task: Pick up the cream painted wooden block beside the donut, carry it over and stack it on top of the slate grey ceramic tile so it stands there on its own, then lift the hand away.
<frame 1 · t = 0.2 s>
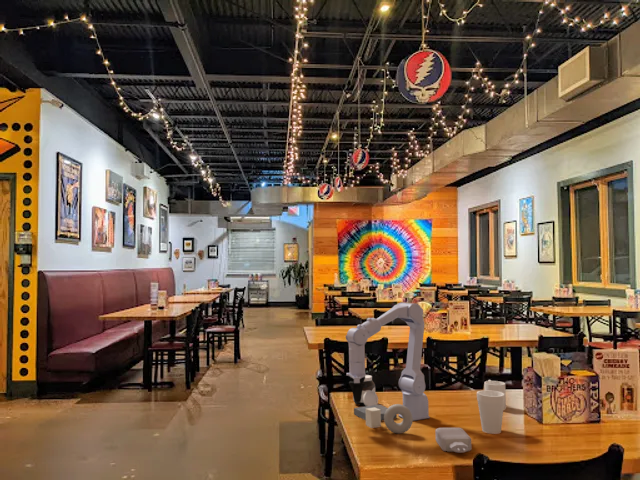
hand: (357, 398, 182), 10 cm above the table, tool pointing down, fingers open, 7 cm apart
tile: (375, 416, 195), on the table
donut: (398, 433, 174), on the table
cup: (493, 406, 209), on the table
spread jar: (366, 405, 212), on the table
block: (373, 425, 183), on the table
foam cup: (491, 431, 176), on the table
charger: (455, 450, 158), on the table
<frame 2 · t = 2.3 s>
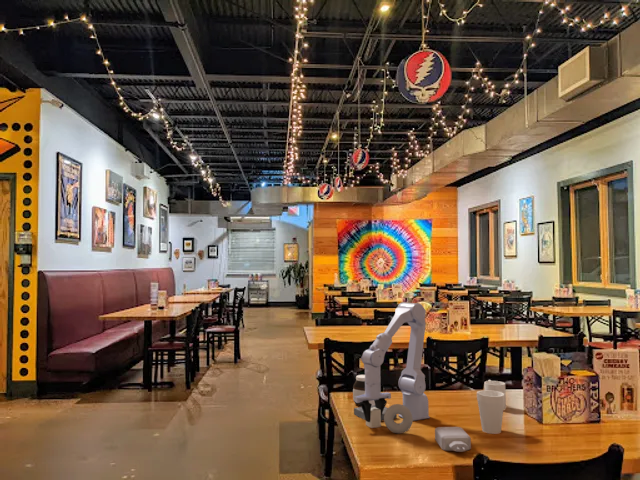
hand: (373, 420, 183), 2 cm above the table, tool pointing down, fingers closed on block, 4 cm apart
block: (373, 425, 183), on the table, touching gripper
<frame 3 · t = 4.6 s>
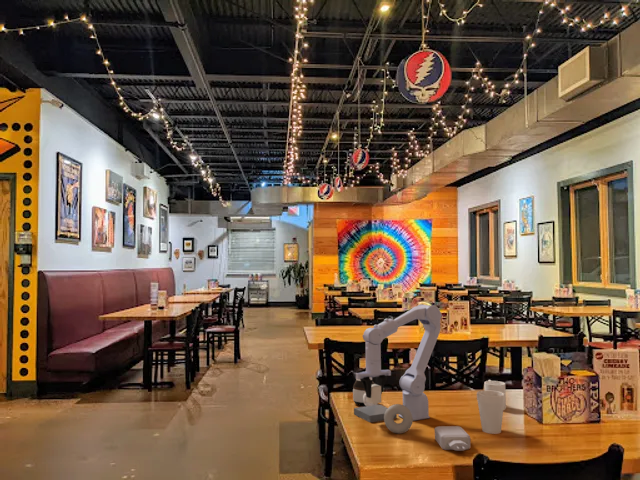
hand: (373, 396, 188), 9 cm above the table, tool pointing down, fingers closed on block, 4 cm apart
block: (374, 401, 188), point 7 cm above the table, touching gripper
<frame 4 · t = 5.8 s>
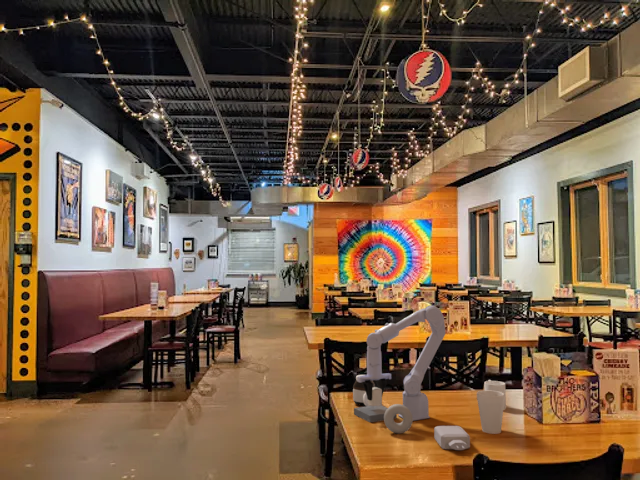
hand: (374, 399, 195), 7 cm above the table, tool pointing down, fingers closed on block, 4 cm apart
block: (374, 404, 195), point 5 cm above the table, touching gripper
when the fingers open (6 cm above the table, at t = 6.8 s): block drops 1 cm, resting on tile.
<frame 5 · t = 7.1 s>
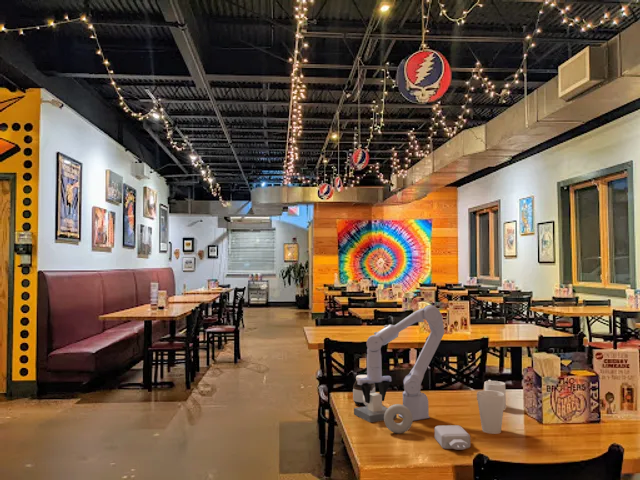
hand: (374, 401, 195), 6 cm above the table, tool pointing down, fingers open, 6 cm apart
block: (375, 409, 195), point 2 cm above the table, touching tile
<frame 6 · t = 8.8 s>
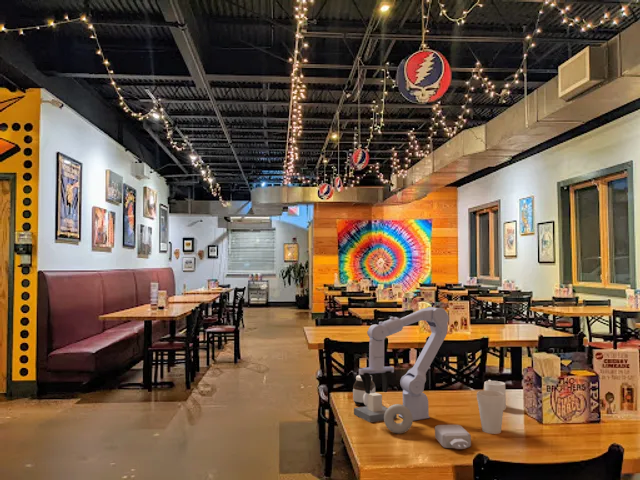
hand: (376, 392, 190), 10 cm above the table, tool pointing down, fingers open, 7 cm apart
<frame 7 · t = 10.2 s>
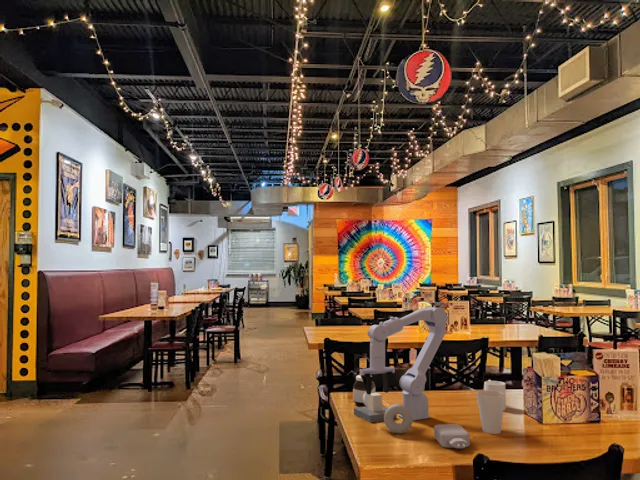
hand: (377, 393, 189), 10 cm above the table, tool pointing down, fingers open, 7 cm apart
at the end: block inside the target area on the tile (0.1 cm from its centre), point 2.5 cm above the tile's base; block tilted 0°; the gripper is holding nothing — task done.
